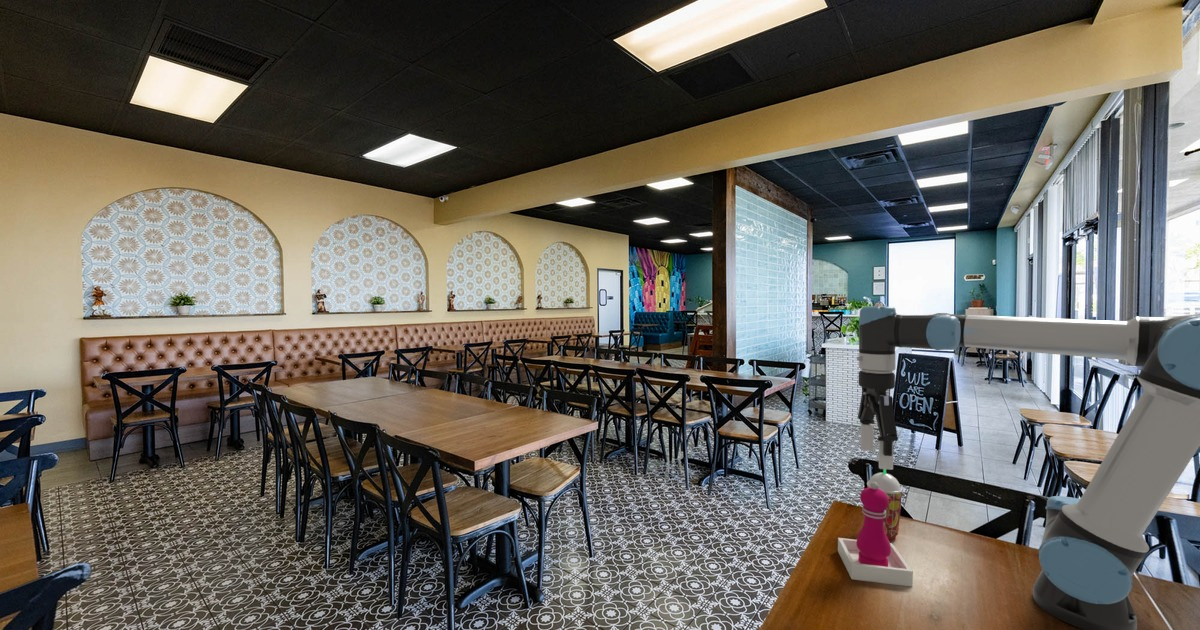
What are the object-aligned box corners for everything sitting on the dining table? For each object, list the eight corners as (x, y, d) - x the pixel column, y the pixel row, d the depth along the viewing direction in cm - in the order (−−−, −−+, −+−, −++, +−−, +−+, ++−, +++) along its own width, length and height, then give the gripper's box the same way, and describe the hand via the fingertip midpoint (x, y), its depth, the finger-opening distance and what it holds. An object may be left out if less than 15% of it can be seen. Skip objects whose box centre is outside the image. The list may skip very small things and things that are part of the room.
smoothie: (859, 529, 134) (860, 459, 133) (885, 526, 136) (886, 457, 135) (881, 544, 126) (883, 470, 125) (909, 541, 127) (910, 467, 127)
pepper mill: (895, 573, 111) (897, 489, 110) (861, 570, 112) (863, 487, 112) (883, 557, 118) (885, 477, 117) (852, 554, 119) (853, 475, 119)
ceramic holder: (892, 557, 120) (892, 543, 120) (912, 586, 108) (912, 571, 107) (837, 551, 123) (838, 537, 123) (851, 579, 110) (851, 564, 110)
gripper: (845, 363, 126) (844, 442, 127) (876, 378, 102) (875, 476, 103) (876, 364, 125) (875, 444, 125) (915, 379, 100) (914, 479, 101)
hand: (875, 459), depth 114 cm, fingers open, 13 cm apart
